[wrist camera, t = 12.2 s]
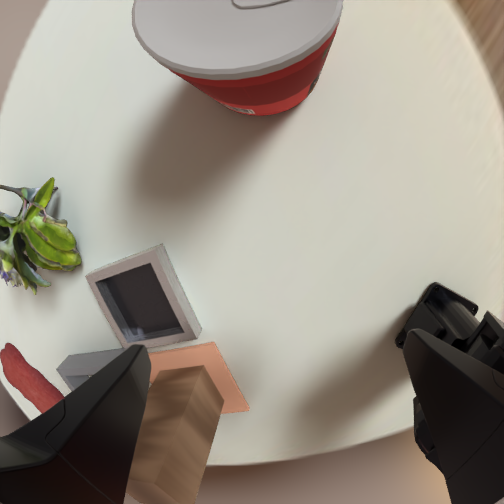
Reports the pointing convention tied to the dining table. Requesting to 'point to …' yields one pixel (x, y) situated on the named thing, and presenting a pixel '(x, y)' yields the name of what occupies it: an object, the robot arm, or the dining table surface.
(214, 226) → the dining table surface
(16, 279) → the passion flower
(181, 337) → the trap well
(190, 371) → the walnut block
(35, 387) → the patty
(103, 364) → the channel
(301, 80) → the canned food
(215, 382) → the pad
